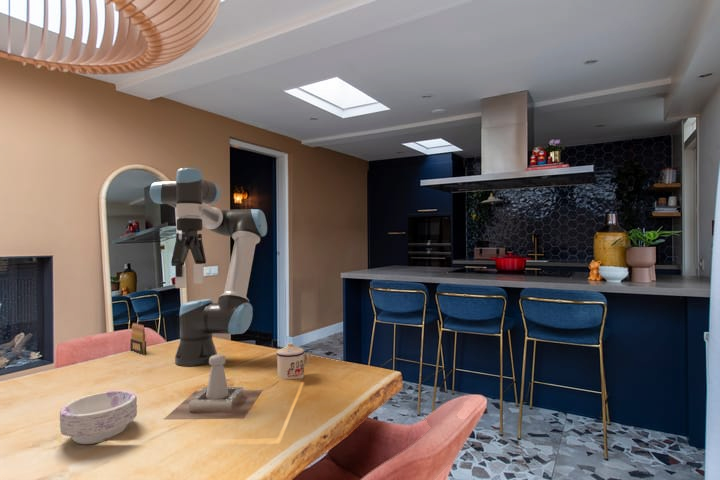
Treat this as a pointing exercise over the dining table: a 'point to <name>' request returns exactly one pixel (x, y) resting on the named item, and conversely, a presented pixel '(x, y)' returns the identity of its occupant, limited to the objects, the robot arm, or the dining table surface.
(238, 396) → the metal collar
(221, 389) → the salt shaker
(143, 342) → the brown flat upright block
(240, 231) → the robot arm
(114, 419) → the paper bowls
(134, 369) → the dining table surface
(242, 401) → the walnut board
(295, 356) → the teacup with lid
